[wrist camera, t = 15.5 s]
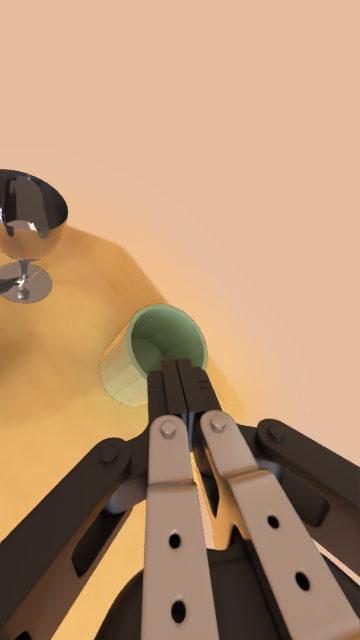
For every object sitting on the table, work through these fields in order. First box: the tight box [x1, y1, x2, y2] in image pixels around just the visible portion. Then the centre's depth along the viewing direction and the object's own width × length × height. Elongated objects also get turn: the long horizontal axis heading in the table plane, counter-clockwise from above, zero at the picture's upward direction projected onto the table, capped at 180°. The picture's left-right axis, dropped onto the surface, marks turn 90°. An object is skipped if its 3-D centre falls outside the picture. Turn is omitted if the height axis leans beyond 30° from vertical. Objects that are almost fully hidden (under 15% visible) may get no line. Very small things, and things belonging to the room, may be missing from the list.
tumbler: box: [100, 304, 208, 407], centre depth 33 cm, size 11×11×12 cm
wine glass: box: [0, 169, 68, 303], centre depth 29 cm, size 8×8×15 cm
